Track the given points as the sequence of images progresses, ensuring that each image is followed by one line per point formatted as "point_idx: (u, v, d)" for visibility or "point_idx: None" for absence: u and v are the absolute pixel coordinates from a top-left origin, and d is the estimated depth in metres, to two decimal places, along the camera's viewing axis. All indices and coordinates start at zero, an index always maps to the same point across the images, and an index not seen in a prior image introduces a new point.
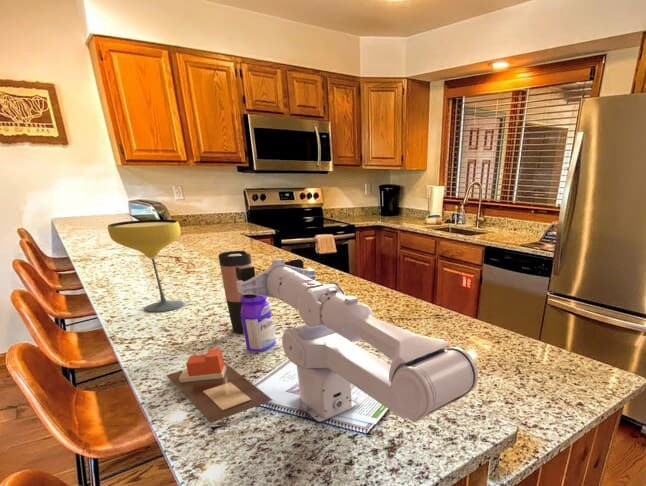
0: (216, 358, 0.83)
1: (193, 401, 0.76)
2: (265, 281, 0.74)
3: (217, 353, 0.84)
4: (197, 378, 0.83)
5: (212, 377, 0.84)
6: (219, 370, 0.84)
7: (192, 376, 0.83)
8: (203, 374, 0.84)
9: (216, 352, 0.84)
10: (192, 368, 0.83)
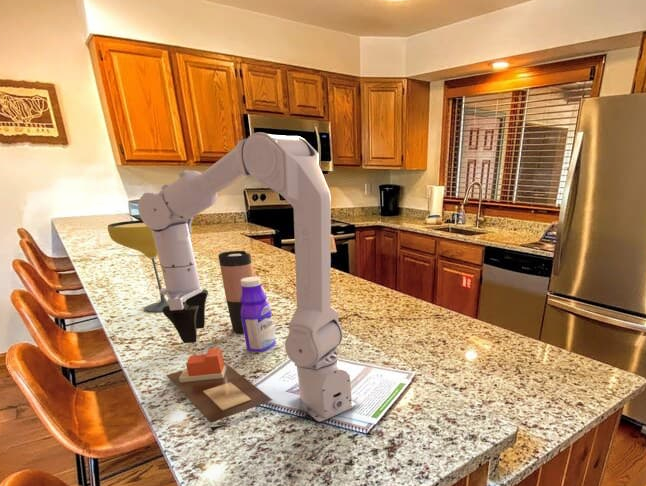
0: (216, 358, 0.83)
1: (193, 401, 0.76)
2: (176, 292, 0.76)
3: (217, 353, 0.84)
4: (197, 378, 0.83)
5: (212, 377, 0.84)
6: (219, 370, 0.84)
7: (192, 376, 0.83)
8: (203, 374, 0.84)
9: (216, 352, 0.84)
10: (192, 368, 0.83)
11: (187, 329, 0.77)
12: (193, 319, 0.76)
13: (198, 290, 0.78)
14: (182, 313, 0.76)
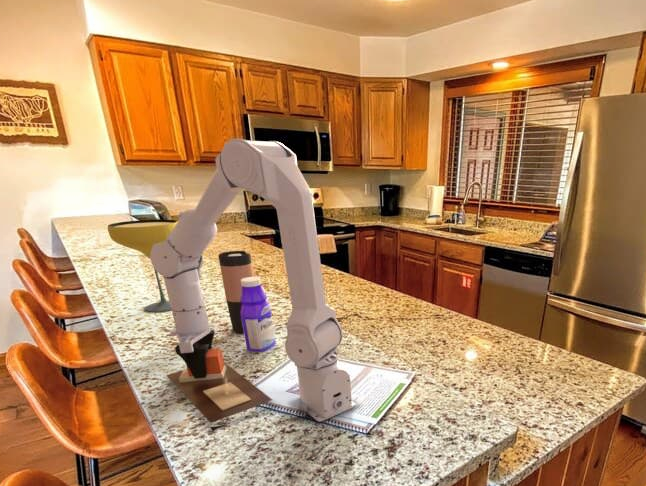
0: (216, 358, 0.83)
1: (193, 401, 0.76)
2: (186, 334, 0.79)
3: (217, 353, 0.84)
4: None
5: (212, 377, 0.84)
6: (219, 370, 0.84)
7: (192, 376, 0.83)
8: None
9: (216, 352, 0.84)
10: None
11: (198, 366, 0.82)
12: (204, 357, 0.80)
13: (207, 331, 0.81)
14: (193, 351, 0.80)
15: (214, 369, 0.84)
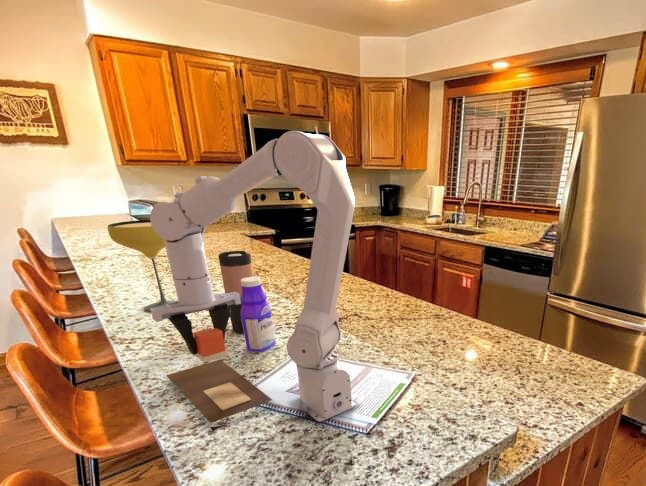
0: (199, 339, 0.74)
1: (193, 401, 0.76)
2: (178, 303, 0.73)
3: (206, 334, 0.74)
4: None
5: (199, 357, 0.76)
6: (202, 353, 0.75)
7: None
8: None
9: (208, 333, 0.75)
10: None
11: None
12: (182, 332, 0.73)
13: (194, 307, 0.72)
14: None
15: (200, 349, 0.75)
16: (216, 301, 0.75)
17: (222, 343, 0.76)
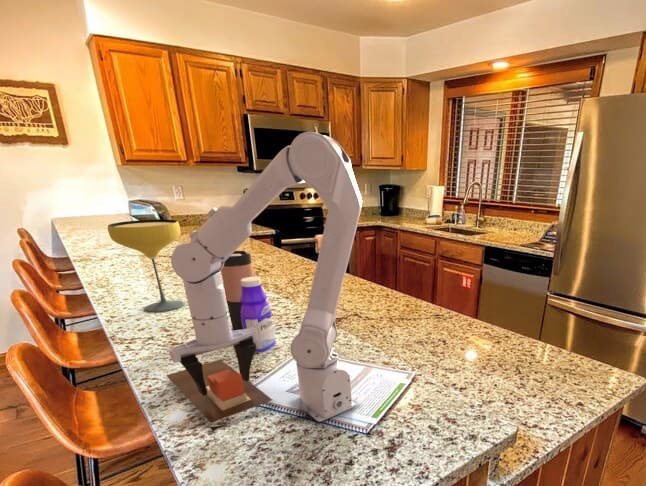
0: (218, 385, 0.73)
1: (193, 401, 0.76)
2: (196, 342, 0.72)
3: (225, 379, 0.73)
4: (212, 395, 0.77)
5: (218, 401, 0.75)
6: (221, 398, 0.74)
7: (211, 390, 0.77)
8: (214, 394, 0.76)
9: (228, 378, 0.74)
10: (209, 383, 0.76)
11: None
12: (192, 374, 0.71)
13: (212, 346, 0.71)
14: None
15: (219, 394, 0.74)
16: (235, 339, 0.73)
17: (241, 387, 0.75)
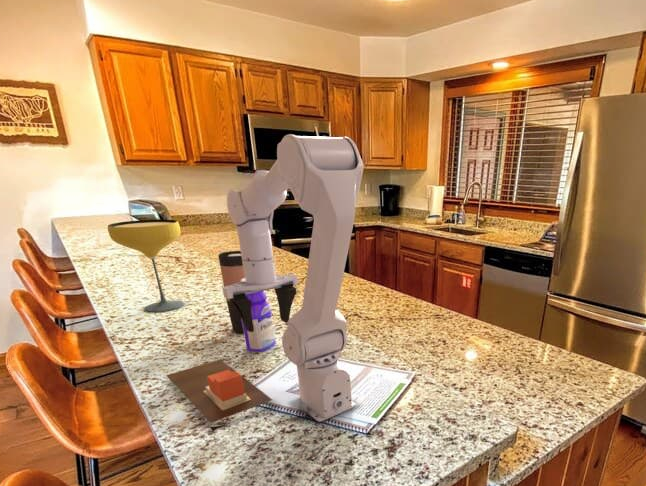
0: (218, 385, 0.73)
1: (193, 401, 0.76)
2: (245, 283, 0.81)
3: (225, 379, 0.73)
4: (212, 395, 0.77)
5: (218, 401, 0.75)
6: (221, 398, 0.74)
7: (211, 390, 0.77)
8: (214, 394, 0.76)
9: (228, 378, 0.74)
10: (209, 383, 0.76)
11: (245, 318, 0.82)
12: (242, 311, 0.80)
13: (260, 286, 0.80)
14: None
15: (219, 394, 0.74)
16: (279, 281, 0.82)
17: (241, 387, 0.75)
